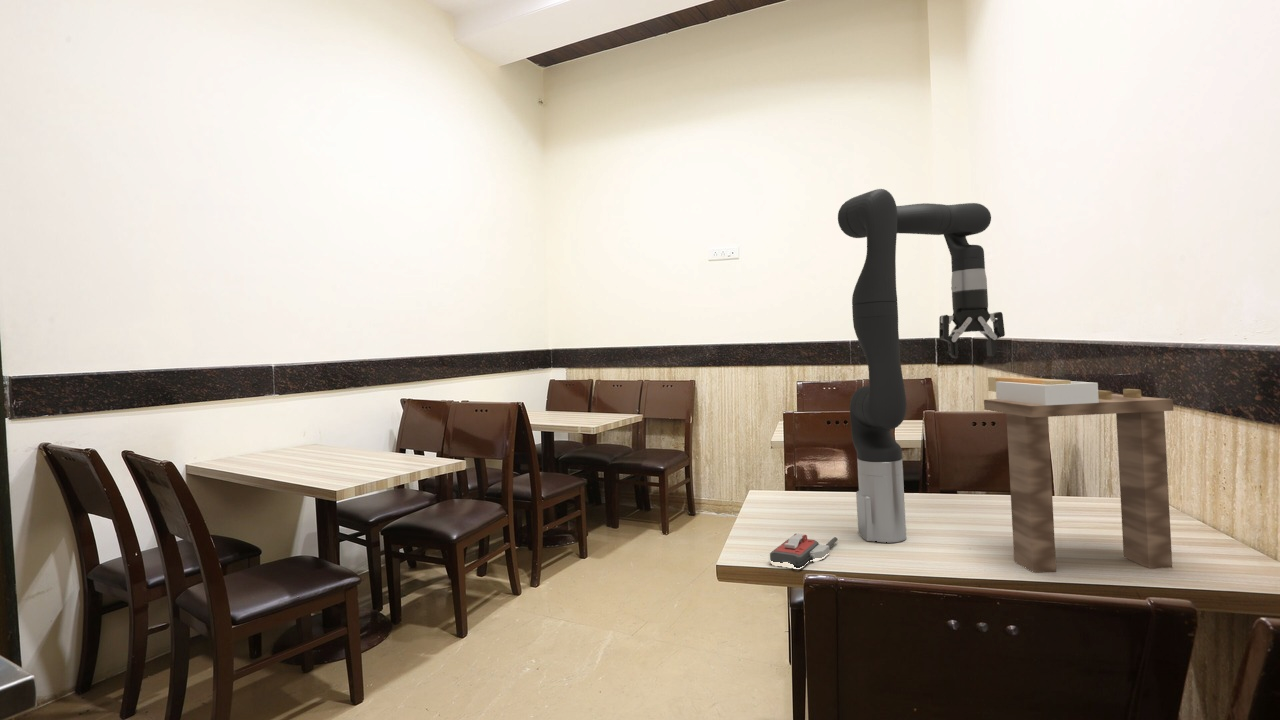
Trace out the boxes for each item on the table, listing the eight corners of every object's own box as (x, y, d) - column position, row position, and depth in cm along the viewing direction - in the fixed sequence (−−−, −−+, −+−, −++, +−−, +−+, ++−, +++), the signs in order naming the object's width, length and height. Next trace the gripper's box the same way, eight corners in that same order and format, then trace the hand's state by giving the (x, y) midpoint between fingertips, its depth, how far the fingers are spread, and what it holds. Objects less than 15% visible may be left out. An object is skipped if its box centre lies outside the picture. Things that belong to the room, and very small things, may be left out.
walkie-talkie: (810, 576, 114) (841, 545, 131) (808, 552, 114) (840, 525, 131) (766, 569, 119) (801, 540, 136) (764, 546, 119) (800, 521, 136)
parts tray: (1045, 405, 107) (1044, 385, 107) (996, 399, 123) (995, 381, 123) (1098, 402, 106) (1097, 382, 106) (1042, 396, 122) (1041, 379, 122)
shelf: (1040, 576, 107) (1030, 397, 107) (991, 548, 123) (983, 392, 123) (1181, 571, 106) (1172, 390, 106) (1114, 543, 122) (1106, 386, 122)
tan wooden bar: (1052, 397, 109) (1052, 381, 109) (988, 391, 131) (987, 377, 131) (1071, 397, 109) (1070, 380, 109) (1003, 390, 131) (1002, 376, 131)
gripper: (946, 289, 143) (949, 358, 143) (1008, 286, 142) (1012, 355, 142) (932, 293, 150) (935, 358, 150) (991, 289, 150) (994, 355, 150)
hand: (972, 356), depth 146 cm, fingers open, 8 cm apart
